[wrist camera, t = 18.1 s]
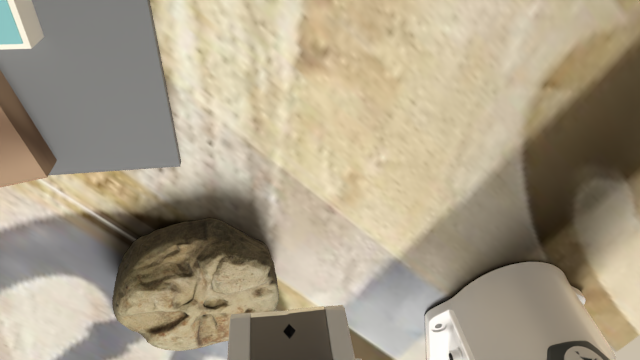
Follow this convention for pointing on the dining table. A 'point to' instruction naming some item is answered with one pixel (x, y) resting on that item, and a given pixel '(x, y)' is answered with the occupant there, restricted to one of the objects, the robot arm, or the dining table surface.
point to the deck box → (19, 25)
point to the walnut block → (20, 142)
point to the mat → (96, 86)
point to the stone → (192, 283)
